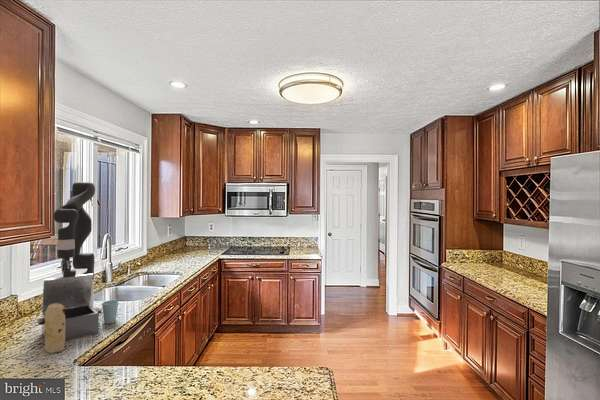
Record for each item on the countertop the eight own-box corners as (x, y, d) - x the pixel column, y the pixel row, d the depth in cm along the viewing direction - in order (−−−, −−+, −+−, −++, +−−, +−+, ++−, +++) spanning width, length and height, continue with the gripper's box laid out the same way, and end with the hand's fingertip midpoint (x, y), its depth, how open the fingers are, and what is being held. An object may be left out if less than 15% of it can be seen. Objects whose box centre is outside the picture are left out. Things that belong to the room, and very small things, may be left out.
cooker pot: (35, 334, 169) (35, 314, 169) (95, 322, 187) (95, 303, 186) (40, 346, 156) (41, 324, 156) (104, 331, 173) (104, 311, 173)
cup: (118, 318, 193) (118, 299, 193) (118, 322, 187) (118, 303, 186) (102, 320, 189) (102, 301, 189) (102, 325, 183) (102, 305, 183)
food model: (69, 349, 153) (70, 303, 153) (53, 355, 147) (54, 308, 147) (55, 345, 157) (56, 300, 157) (39, 351, 151) (39, 305, 151)
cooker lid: (41, 312, 171) (41, 310, 172) (89, 304, 185) (88, 301, 186) (44, 274, 165) (43, 272, 167) (93, 269, 180) (92, 266, 181)
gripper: (54, 247, 182) (54, 280, 182) (59, 250, 172) (59, 285, 172) (71, 246, 187) (71, 278, 187) (77, 248, 177) (77, 283, 177)
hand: (65, 281), depth 180 cm, fingers closed
